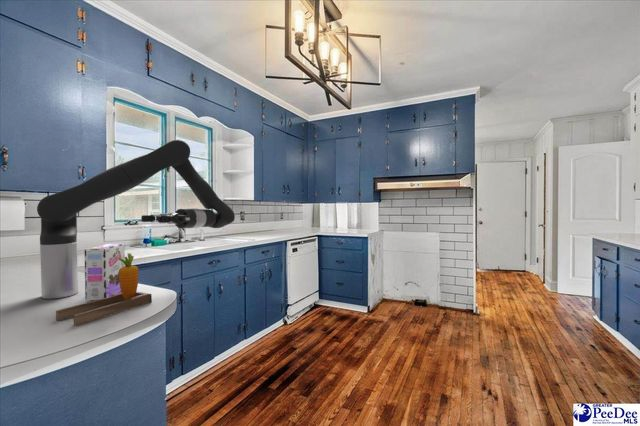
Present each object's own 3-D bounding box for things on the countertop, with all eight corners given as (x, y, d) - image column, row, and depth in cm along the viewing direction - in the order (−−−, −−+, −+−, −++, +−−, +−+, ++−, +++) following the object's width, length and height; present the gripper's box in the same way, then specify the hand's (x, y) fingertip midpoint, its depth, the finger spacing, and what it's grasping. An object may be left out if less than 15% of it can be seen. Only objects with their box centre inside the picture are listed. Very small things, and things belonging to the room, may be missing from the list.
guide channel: (56, 320, 79) (55, 309, 79) (132, 298, 97) (132, 289, 97) (76, 325, 75) (75, 314, 75) (151, 302, 93) (151, 293, 93)
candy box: (105, 301, 95) (104, 248, 94) (84, 302, 94) (83, 248, 93) (126, 289, 108) (125, 242, 108) (108, 290, 107) (106, 243, 107)
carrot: (130, 307, 89) (128, 255, 88) (115, 306, 89) (113, 255, 89) (143, 301, 93) (141, 252, 93) (129, 301, 94) (127, 252, 94)
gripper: (177, 208, 119) (136, 207, 105) (204, 208, 113) (164, 207, 99) (177, 227, 119) (136, 229, 105) (204, 228, 113) (164, 231, 99)
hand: (150, 218), depth 102 cm, fingers open, 8 cm apart
